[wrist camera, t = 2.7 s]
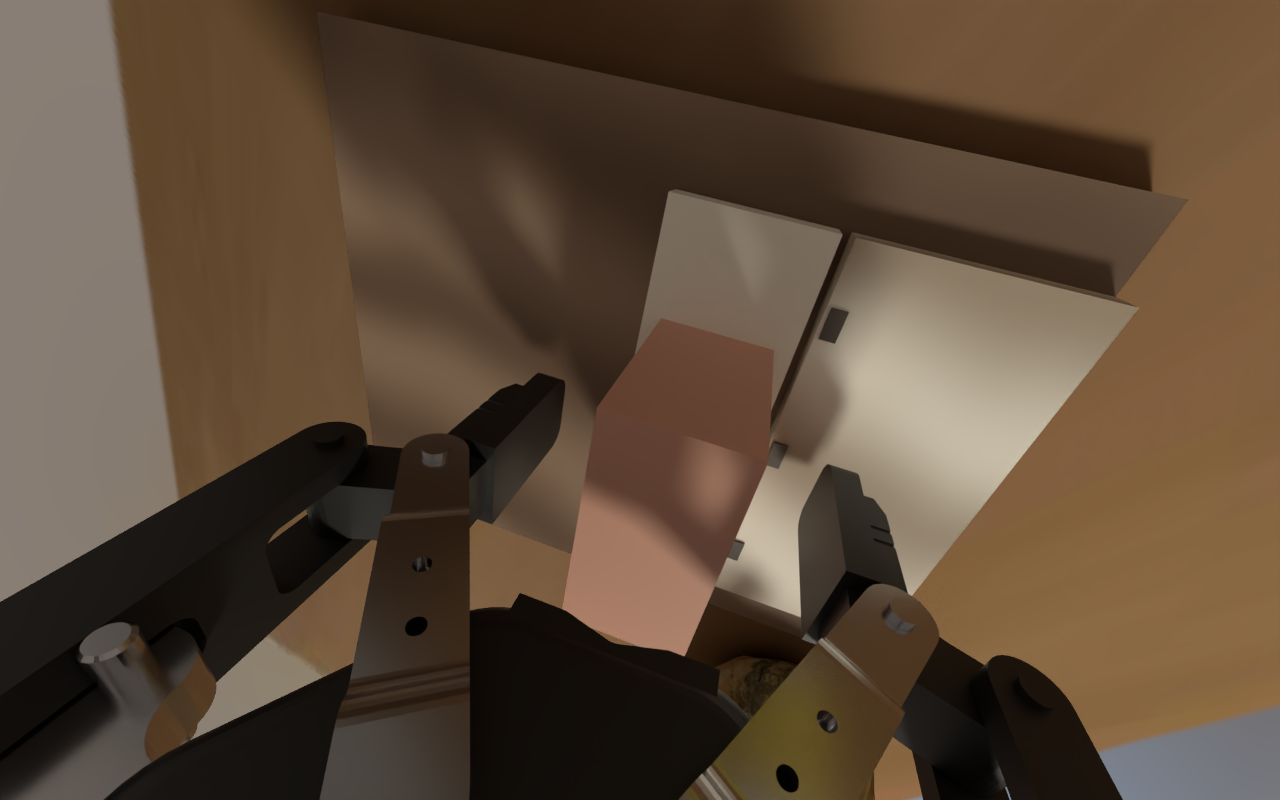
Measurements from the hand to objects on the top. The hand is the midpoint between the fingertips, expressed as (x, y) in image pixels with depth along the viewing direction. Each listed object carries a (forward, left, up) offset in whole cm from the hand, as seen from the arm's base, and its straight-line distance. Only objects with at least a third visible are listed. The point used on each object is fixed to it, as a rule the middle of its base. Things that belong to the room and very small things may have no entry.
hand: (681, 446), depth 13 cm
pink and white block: (0, 0, -2) cm, 2 cm away
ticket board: (0, -2, -3) cm, 4 cm away
